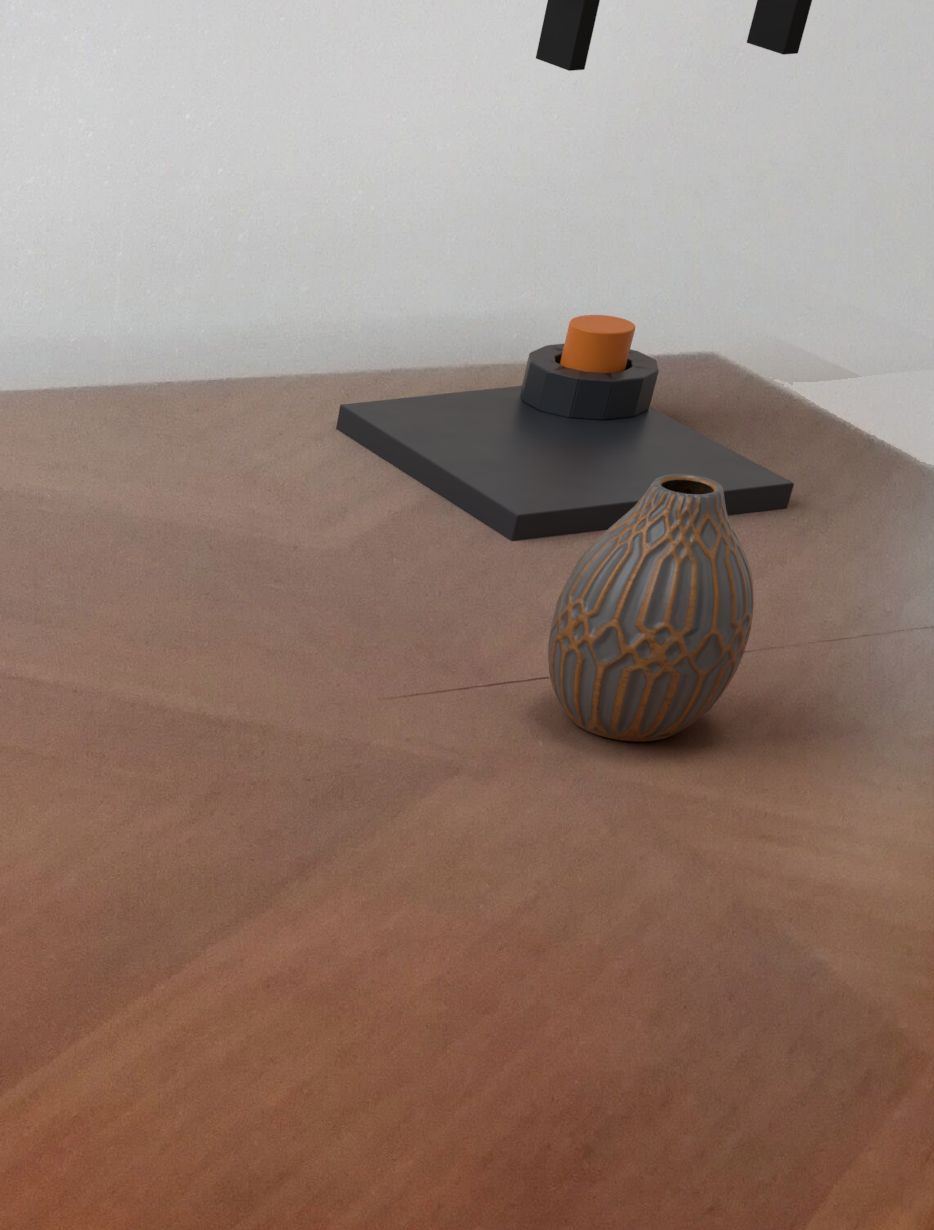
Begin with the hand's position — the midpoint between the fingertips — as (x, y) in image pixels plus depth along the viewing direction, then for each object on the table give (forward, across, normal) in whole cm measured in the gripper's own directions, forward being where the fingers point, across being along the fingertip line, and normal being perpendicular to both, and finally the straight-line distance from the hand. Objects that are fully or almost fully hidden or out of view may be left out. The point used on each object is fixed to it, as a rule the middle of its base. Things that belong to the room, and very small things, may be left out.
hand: (666, 56), depth 109 cm
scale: (+16, +4, +5) cm, 17 cm away
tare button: (+13, 0, 0) cm, 13 cm away
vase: (+16, +18, +31) cm, 39 cm away
